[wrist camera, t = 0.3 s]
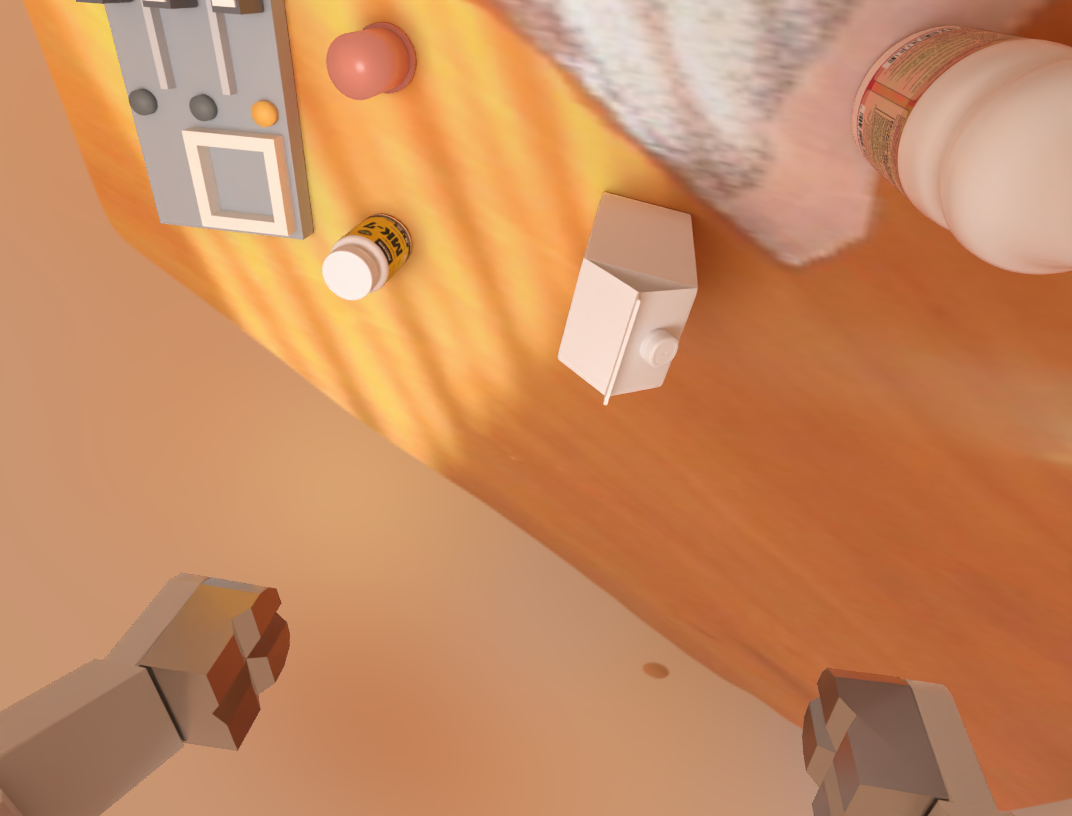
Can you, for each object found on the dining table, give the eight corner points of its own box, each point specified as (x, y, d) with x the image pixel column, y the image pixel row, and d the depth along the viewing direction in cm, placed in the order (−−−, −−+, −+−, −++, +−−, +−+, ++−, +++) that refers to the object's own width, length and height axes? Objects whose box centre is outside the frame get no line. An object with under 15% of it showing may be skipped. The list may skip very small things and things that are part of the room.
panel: (90, -129, 46) (52, -136, 43) (268, -119, 45) (241, -125, 42) (174, 216, 59) (149, 228, 56) (313, 232, 58) (295, 245, 55)
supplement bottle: (423, 239, 57) (389, 276, 50) (394, 277, 59) (357, 317, 52) (377, 200, 56) (335, 233, 49) (349, 241, 58) (306, 277, 51)
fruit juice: (913, -4, 43) (1208, 21, 19) (1036, 65, 43) (1460, 169, 20) (819, 137, 48) (963, 291, 25) (931, 197, 49) (1172, 399, 25)
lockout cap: (353, 19, 49) (318, 25, 44) (415, 24, 48) (386, 30, 43) (359, 89, 51) (326, 101, 46) (417, 94, 51) (390, 107, 46)
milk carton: (581, 273, 56) (547, 390, 40) (603, 190, 52) (575, 283, 36) (663, 295, 56) (662, 420, 40) (691, 213, 52) (702, 316, 36)
